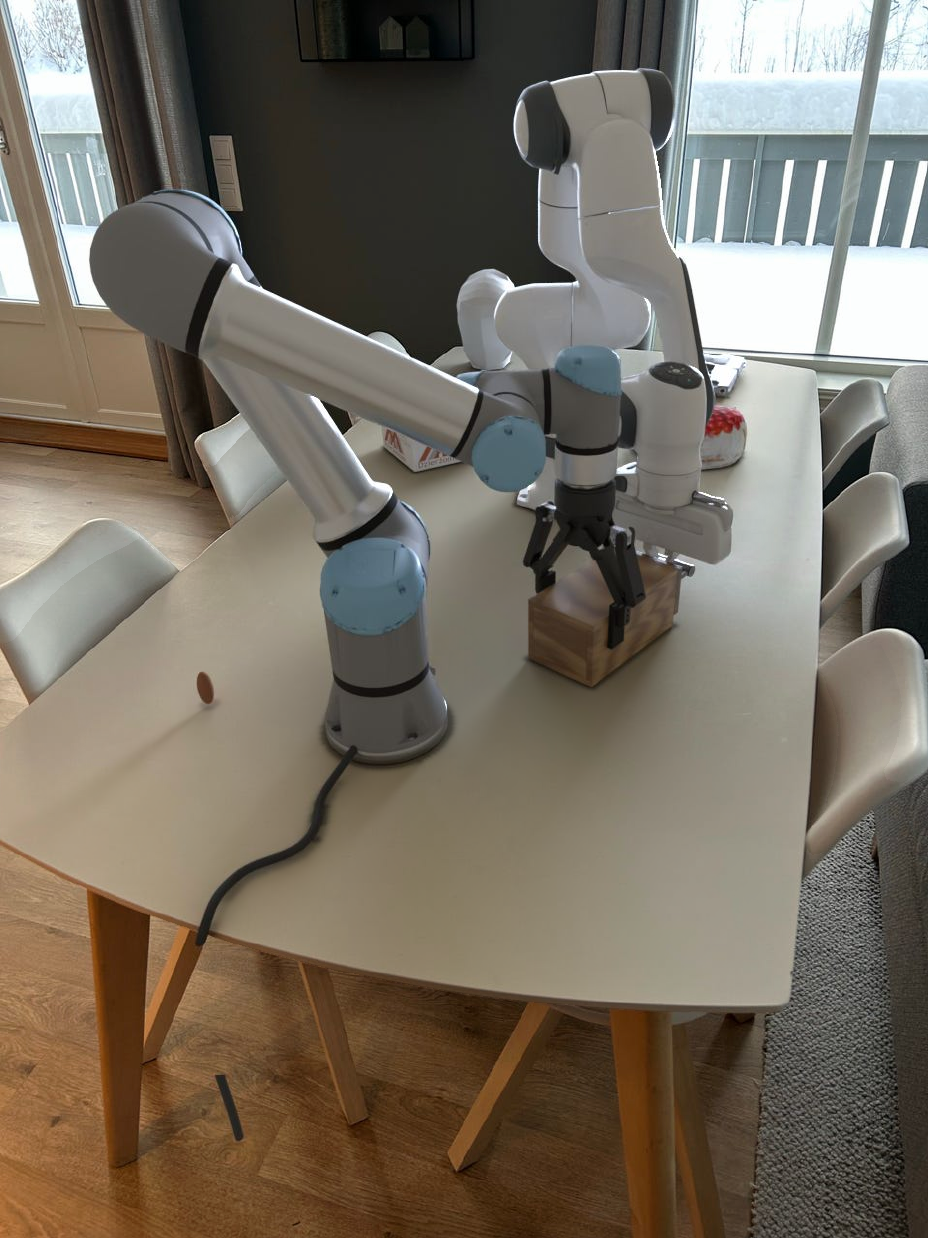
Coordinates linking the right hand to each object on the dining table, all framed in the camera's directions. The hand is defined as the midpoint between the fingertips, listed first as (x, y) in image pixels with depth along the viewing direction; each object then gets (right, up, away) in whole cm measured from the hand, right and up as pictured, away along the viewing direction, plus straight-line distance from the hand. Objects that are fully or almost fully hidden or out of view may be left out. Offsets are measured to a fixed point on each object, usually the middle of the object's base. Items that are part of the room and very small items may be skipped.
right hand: (659, 571), depth 134 cm
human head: (-22, +62, +112) cm, 130 cm away
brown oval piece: (-62, -18, -15) cm, 67 cm away
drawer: (-6, -7, -3) cm, 9 cm away
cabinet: (-9, -10, -6) cm, 15 cm away
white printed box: (-35, +29, +60) cm, 75 cm away
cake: (+18, +28, +55) cm, 64 cm away
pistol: (+31, +53, +94) cm, 112 cm away
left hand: (-13, -8, -11) cm, 19 cm away
